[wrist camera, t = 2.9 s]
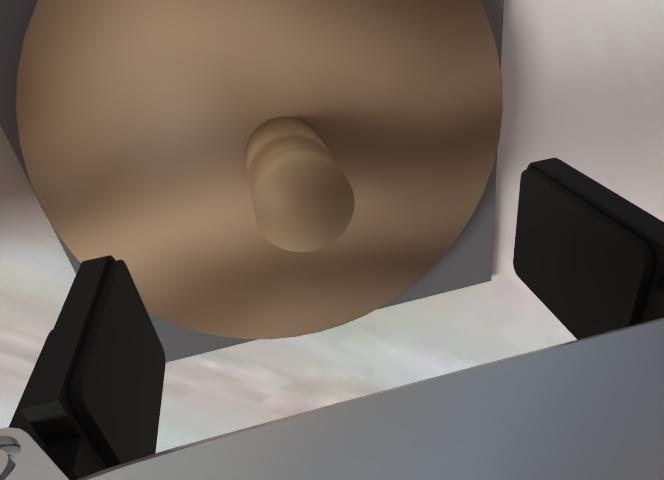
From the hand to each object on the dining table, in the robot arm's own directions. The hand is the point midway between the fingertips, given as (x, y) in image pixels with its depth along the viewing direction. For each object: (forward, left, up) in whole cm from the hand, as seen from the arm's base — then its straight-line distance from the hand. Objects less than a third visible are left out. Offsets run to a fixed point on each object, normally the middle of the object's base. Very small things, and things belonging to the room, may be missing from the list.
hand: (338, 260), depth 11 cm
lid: (-1, 0, -11) cm, 10 cm away
